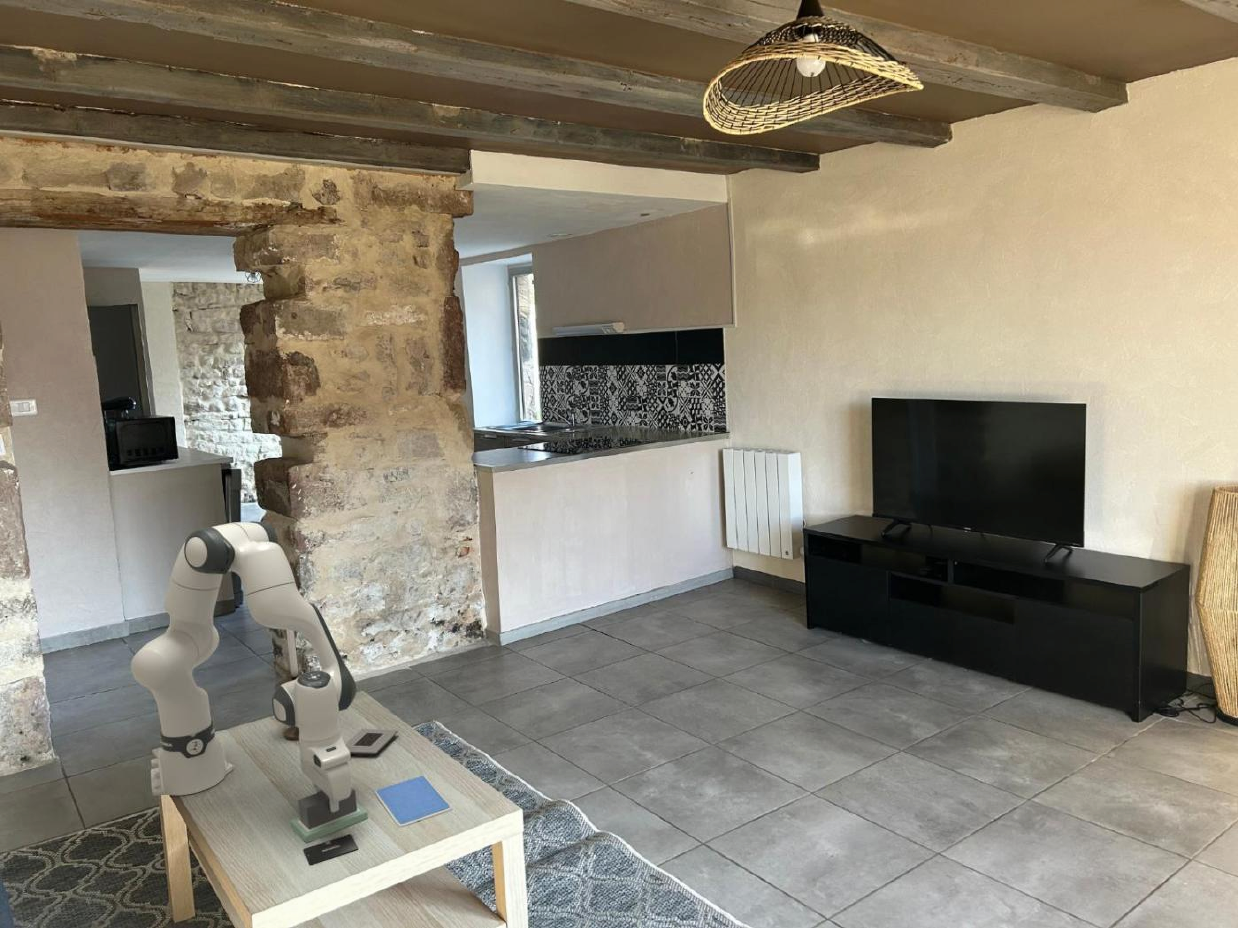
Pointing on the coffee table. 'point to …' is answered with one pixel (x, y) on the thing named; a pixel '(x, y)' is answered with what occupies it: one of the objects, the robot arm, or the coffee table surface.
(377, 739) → the grey flat piece
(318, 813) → the block
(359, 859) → the coffee table surface
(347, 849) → the solid state drive
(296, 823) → the header board
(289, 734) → the candlestick
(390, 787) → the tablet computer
